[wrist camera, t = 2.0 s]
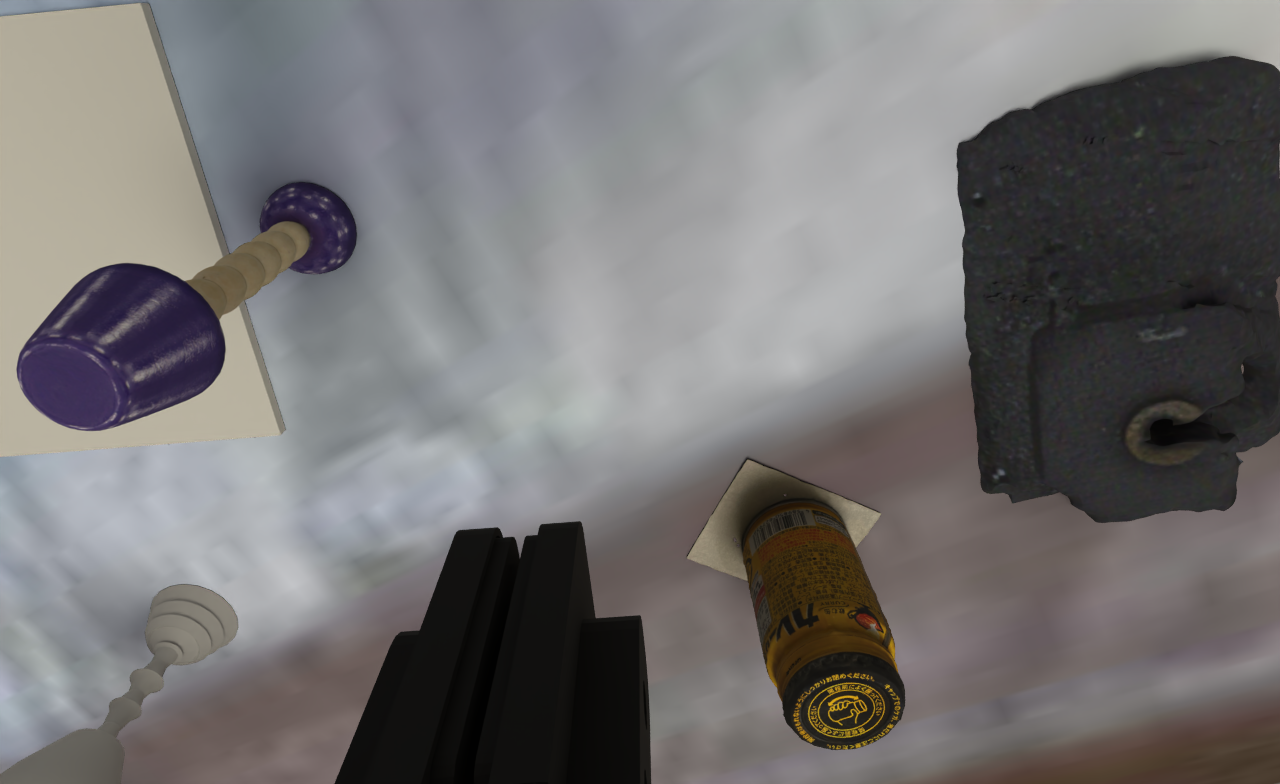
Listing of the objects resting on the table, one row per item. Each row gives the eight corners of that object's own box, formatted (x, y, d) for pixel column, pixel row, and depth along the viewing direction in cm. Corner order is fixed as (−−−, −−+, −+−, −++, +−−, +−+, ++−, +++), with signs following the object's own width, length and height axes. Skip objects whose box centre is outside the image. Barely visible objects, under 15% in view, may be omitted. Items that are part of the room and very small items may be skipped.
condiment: (813, 604, 45) (870, 785, 34) (686, 556, 43) (702, 728, 32) (880, 511, 42) (965, 675, 31) (746, 455, 41) (787, 608, 30)
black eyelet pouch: (1297, 20, 32) (1399, 17, 28) (1261, 453, 41) (1334, 501, 37) (935, 122, 34) (978, 134, 30) (977, 516, 43) (1014, 569, 39)
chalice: (189, 551, 43) (-84, 864, 27) (279, 625, 45) (79, 955, 29) (108, 611, 45) (-195, 938, 28) (199, 679, 47) (-32, 1018, 31)
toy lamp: (375, 273, 36) (187, 441, 21) (283, 293, 37) (35, 473, 21) (336, 172, 34) (98, 278, 19) (240, 194, 35) (-67, 316, 19)
